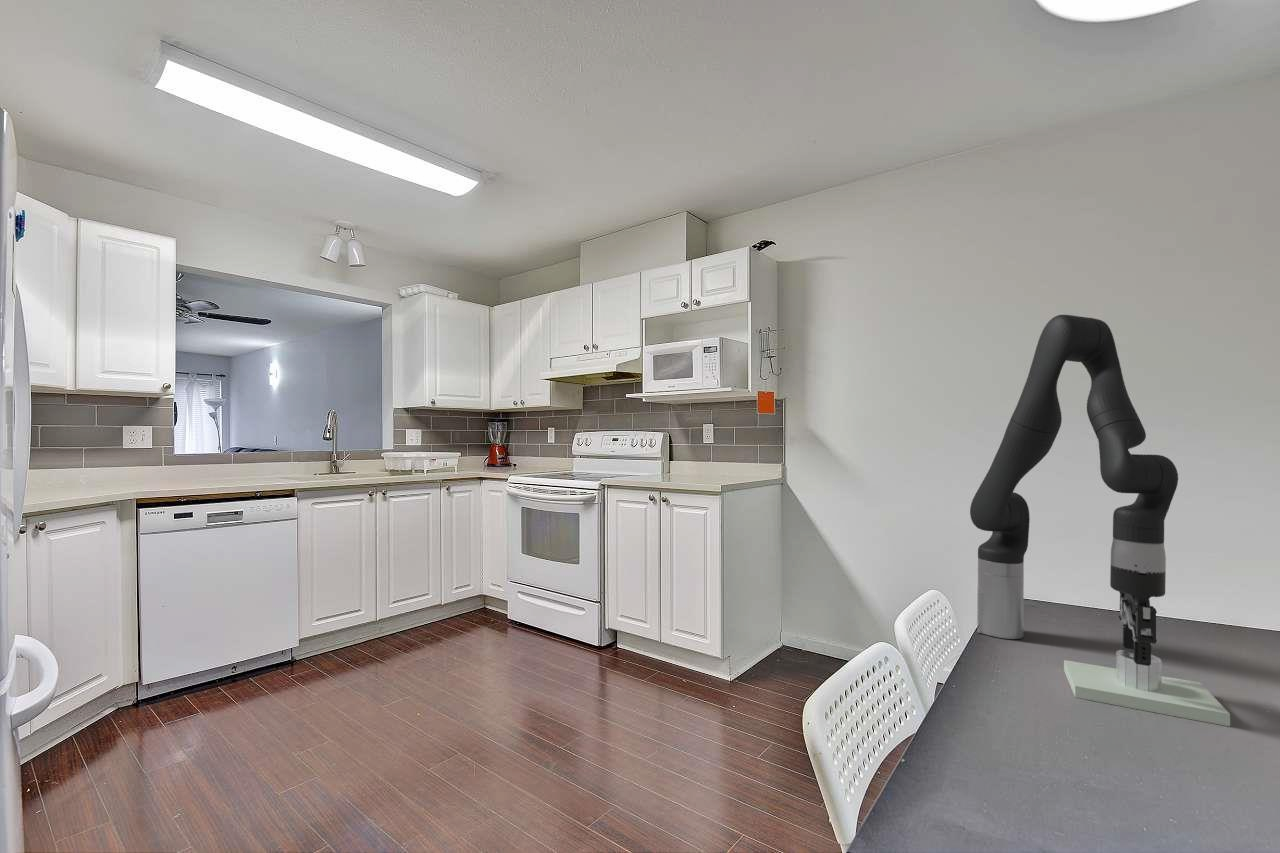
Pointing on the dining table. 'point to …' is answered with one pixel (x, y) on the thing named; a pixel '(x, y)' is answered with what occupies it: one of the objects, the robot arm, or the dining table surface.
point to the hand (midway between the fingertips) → (1136, 656)
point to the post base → (1146, 694)
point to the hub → (1138, 672)
